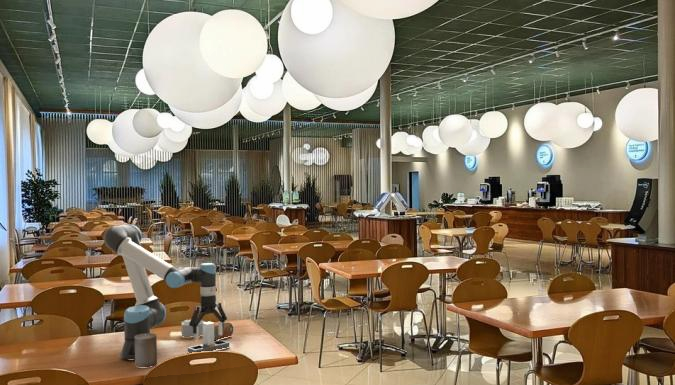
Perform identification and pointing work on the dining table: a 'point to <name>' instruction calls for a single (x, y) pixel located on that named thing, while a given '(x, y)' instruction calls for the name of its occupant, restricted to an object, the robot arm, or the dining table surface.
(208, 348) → the grey compartment tray
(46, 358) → the dining table surface
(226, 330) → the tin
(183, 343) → the dining table surface
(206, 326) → the zinc square peg
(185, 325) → the lumpy-topped squat cylinder
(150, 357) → the pillar candle
